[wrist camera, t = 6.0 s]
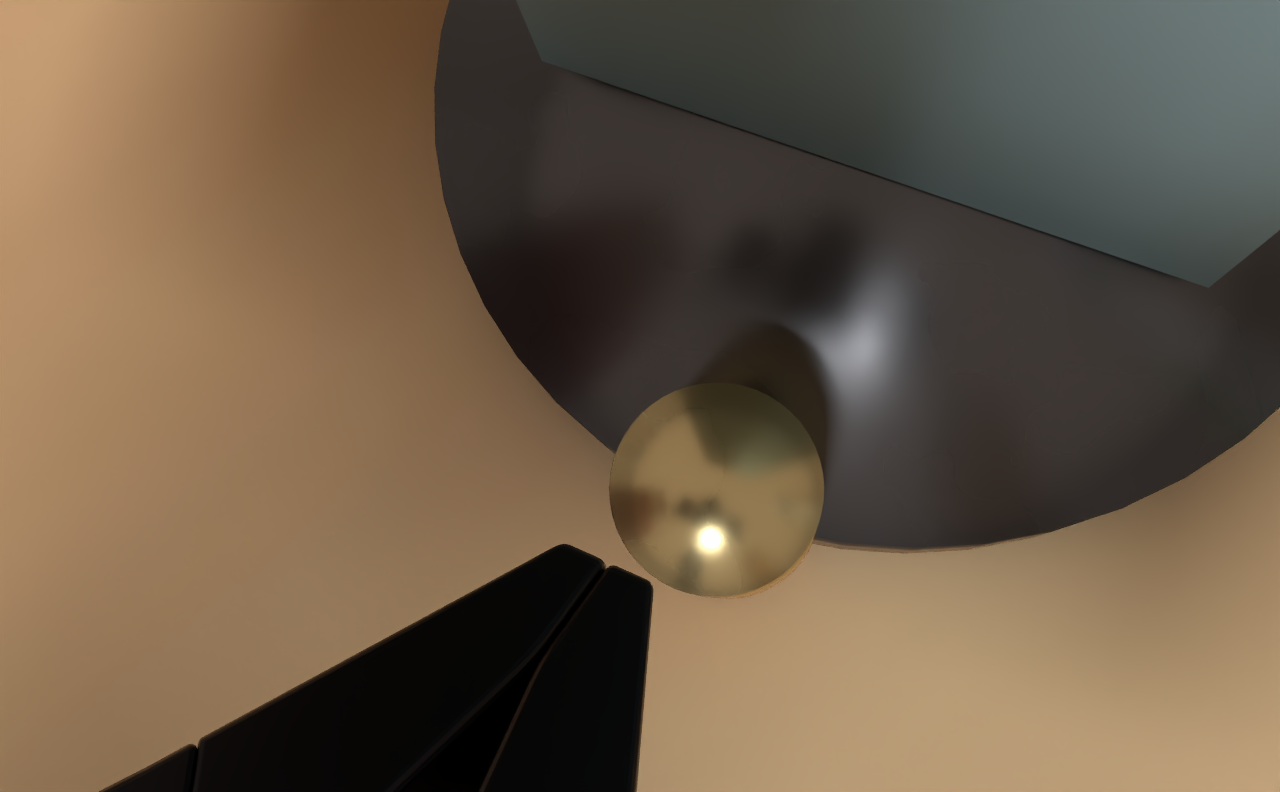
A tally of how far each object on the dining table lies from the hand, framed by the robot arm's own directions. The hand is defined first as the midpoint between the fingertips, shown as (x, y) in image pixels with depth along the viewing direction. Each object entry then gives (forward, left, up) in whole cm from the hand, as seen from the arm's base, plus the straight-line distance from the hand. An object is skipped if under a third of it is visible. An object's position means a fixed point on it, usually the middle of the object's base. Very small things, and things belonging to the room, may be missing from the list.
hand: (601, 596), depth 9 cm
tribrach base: (+7, +4, -8) cm, 11 cm away
